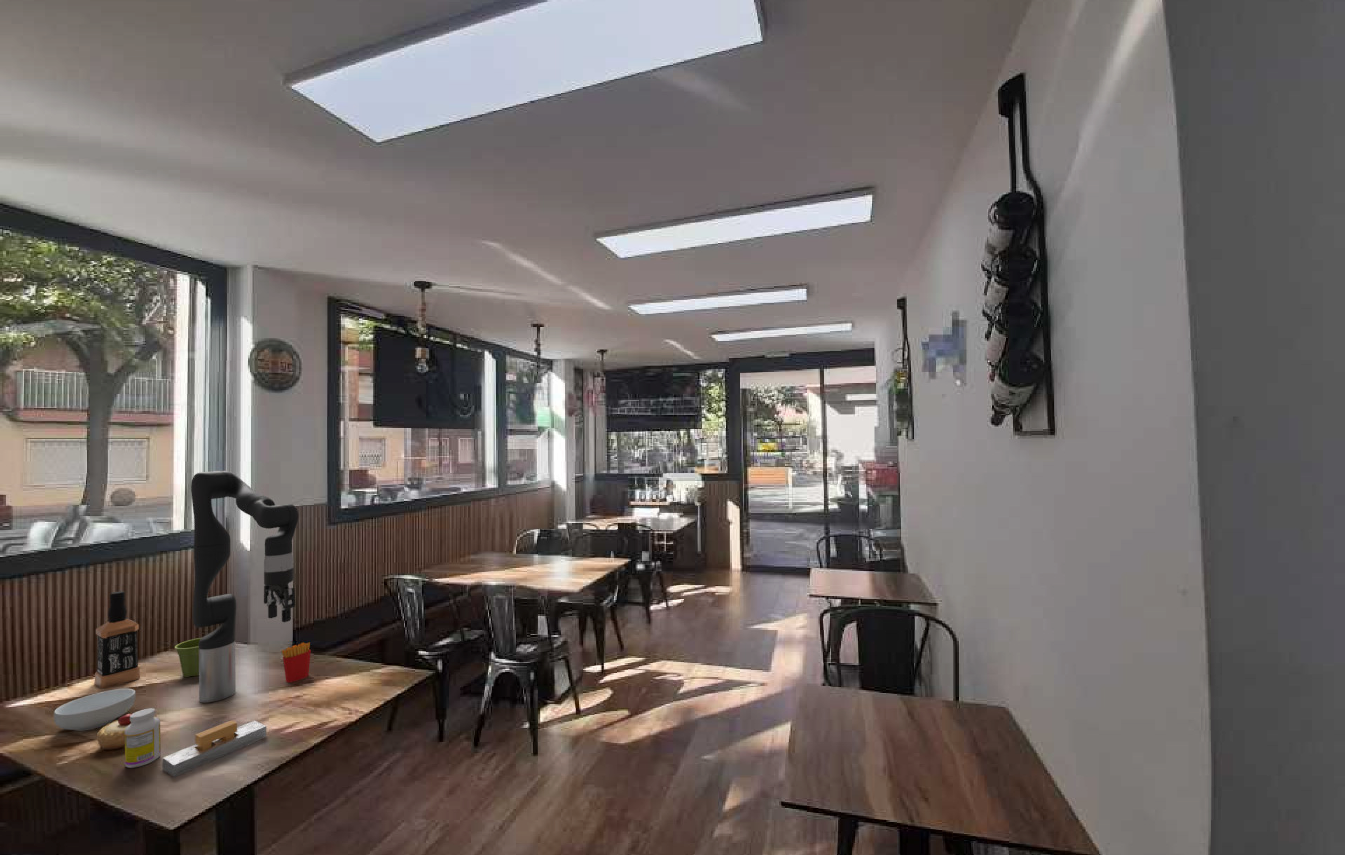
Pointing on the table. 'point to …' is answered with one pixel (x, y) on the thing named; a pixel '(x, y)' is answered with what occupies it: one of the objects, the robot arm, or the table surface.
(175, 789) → the table surface
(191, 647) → the plant pot
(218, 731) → the ochre wooden block
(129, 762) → the supplement bottle
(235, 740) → the rail
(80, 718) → the cereal bowl
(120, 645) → the whiskey bottle
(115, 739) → the pastry
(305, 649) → the french fries
